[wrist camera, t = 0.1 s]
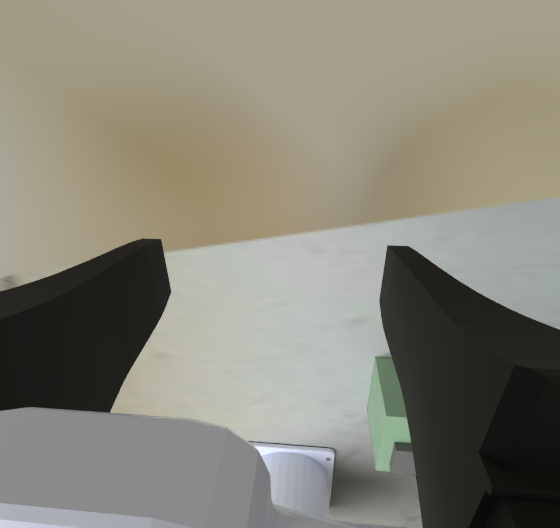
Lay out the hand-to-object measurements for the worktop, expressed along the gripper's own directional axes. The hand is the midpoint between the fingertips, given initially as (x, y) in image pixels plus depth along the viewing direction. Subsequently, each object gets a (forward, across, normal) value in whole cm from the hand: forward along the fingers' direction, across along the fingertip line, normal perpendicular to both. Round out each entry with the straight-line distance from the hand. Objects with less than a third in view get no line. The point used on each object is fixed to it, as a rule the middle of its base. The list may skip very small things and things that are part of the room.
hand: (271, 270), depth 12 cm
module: (+10, -8, +16) cm, 20 cm away
